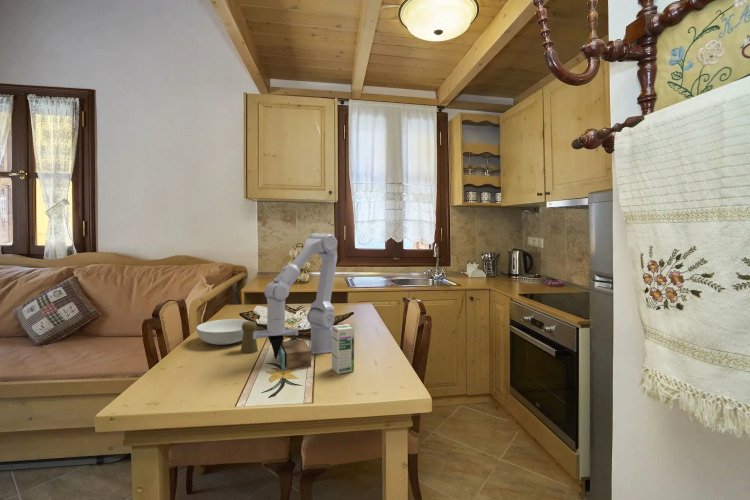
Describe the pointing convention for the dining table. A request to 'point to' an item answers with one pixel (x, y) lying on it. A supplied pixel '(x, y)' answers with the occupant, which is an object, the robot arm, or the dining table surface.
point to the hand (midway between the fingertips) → (275, 357)
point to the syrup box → (343, 348)
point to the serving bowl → (221, 331)
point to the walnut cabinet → (296, 354)
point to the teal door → (281, 357)
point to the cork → (248, 338)
